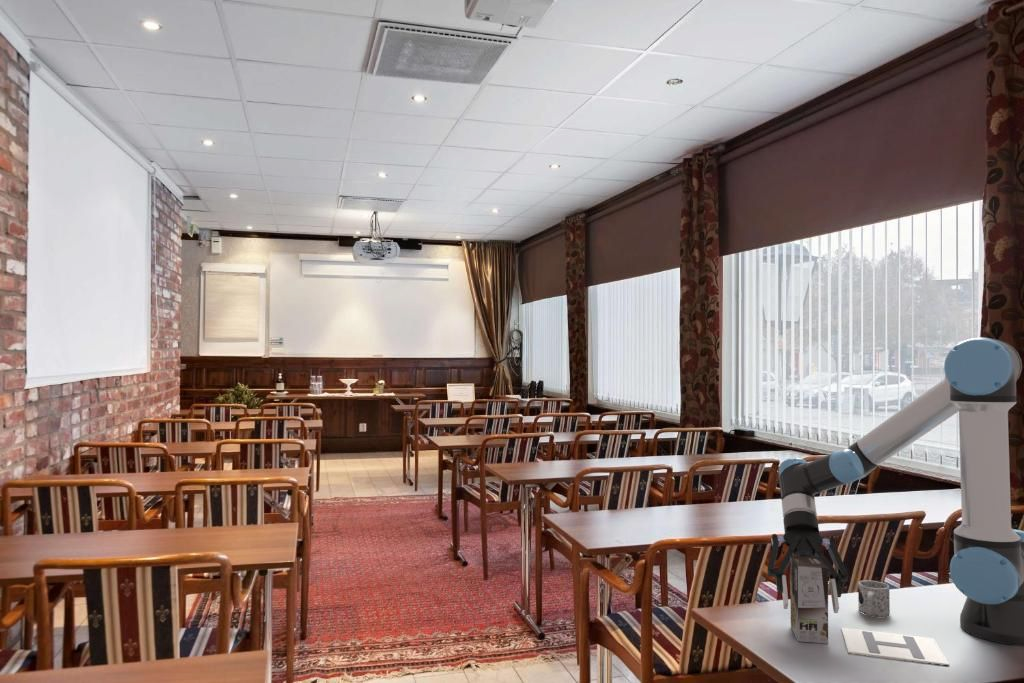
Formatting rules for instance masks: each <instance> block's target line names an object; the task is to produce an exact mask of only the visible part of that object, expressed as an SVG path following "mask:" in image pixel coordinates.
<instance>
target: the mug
mask: <svg viewBox="0 0 1024 683" xmlns="http://www.w3.org/2000/svg"><path fill="white" fill-rule="evenodd" d="M857 585H858V586H857V588H858V589H857V590H858V592H857V593H858V598H857V599H858V600H857V601H858V612H859V611H860V612H862V613H864V614H866V615H865V616H867V615H868V616H867V617H871V616H874V617H873V618H878V617H884V618H888V617H887V616H889V615H890V616H891V614H890V612H891V611H890V610H891V609H890V607H891V606H890V603H891V602H890V585H889V584H887V583H885V582H882V581H876V580H859V581H858V582H857ZM860 612H859V613H860ZM862 613H861V614H862ZM864 614H863V615H864ZM890 616H889V617H890Z"/></svg>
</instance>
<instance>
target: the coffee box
mask: <svg viewBox="0 0 1024 683" xmlns="http://www.w3.org/2000/svg"><path fill="white" fill-rule="evenodd" d="M789 581H790V583H789V587H790V588H789V589H790V590H789V591H790V592H789V594H790V597H789V599H790V602H789V603H790V628H791V630H792V632H793V634H794V636H795V638H796V640H797V641H798V642H803V643H804V642H805V643H815V644H824V643H828V644H829V577H828V567H827V566H826V565H825V563H824V562H823V561H822V560H821V559H820V558H819V557H813V556H812V555H811V556H807V555H794V556H790V564H789Z"/></svg>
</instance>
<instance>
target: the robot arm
mask: <svg viewBox="0 0 1024 683" xmlns="http://www.w3.org/2000/svg"><path fill="white" fill-rule="evenodd" d="M943 366H944V367H943V368H944V378H943V379H941V380H940V381H939V382H937V383H936V384H934V385H933V386H931V387H930V388H929V389H927V390H926V391H925V392H923V393H922V394H920V395H919V396H918V397H917V398H915V399H913V401H911V402H909V403H908V404H906V405H905V406H904V407H903V408H901V409H900V410H899V411H897V412H895V413H894V414H893V415H891V416H890V417H889V418H887V419H886V420H885V421H883V422H882V423H880V424H879V425H877V426H875V428H873V429H872V430H871V431H869V432H868V433H867V434H865V435H863V437H861V438H860V439H858V440H857V441H856V442H854V443H852V444H851V445H850V446H848V447H847V448H844V449H841V450H837V451H833V452H831V453H830V454H827V455H825V456H822V457H820V458H816V459H814V460H812V461H809V462H808V461H806V460H805V459H803V458H800V457H794V458H787V459H784V460H783V461H782V462H781V463H780V464H779V467H778V483H779V489H780V490H779V491H780V497H781V499H780V500H781V508H782V517H783V530H784V534H783V535H777V534H776V533H772V535H771V539H770V540H771V551H770V556H769V559H768V565H767V570H766V576H767V577H769V578H773V579H775V584H776V592H777V593H779V594H782V606H783V610H788V608H789V594H788V586H787V576H786V575H785V572H786V571H787V569H788V567H789V566H790V556H812V557H819V558H820V559H821V560H822V561H823V562H824V563H825V565H826V566H827V567H828V579H830V582H829V588H830V596H831V603H832V604H831V605H832V609H833V610H832V611H833V614H838V613H839V609H840V603H839V598H841V597H842V594H843V590H842V583H844V584H845V583H847V582H848V580H849V572H848V571H847V567H846V566H845V563H844V561H843V560H842V557H841V555H840V553H839V551H838V548H837V546H836V544H837V543H836V541H837V540H836V538H835V537H830V538H824V537H822V536H821V534H820V527H819V523H818V522H819V520H818V514H817V508H816V507H817V506H816V499H815V495H817V494H821V493H823V492H826V491H829V490H832V489H835V488H838V487H841V486H844V485H849V484H851V483H854V482H855V481H858V480H862V479H864V478H865V477H868V476H869V475H870V473H871V472H872V471H874V470H875V469H877V468H878V467H879V466H881V465H883V464H884V463H885V462H886V461H889V460H890V459H891V458H893V457H894V456H895V455H896V454H899V453H900V452H901V451H903V450H904V449H905V448H907V447H908V446H911V444H913V443H914V442H916V441H917V440H919V439H920V438H922V437H923V436H924V435H926V434H928V433H929V432H930V431H932V430H933V429H935V428H937V427H938V426H939V425H941V424H943V423H944V422H945V421H946V420H948V419H949V418H951V417H952V416H955V415H956V414H957V413H958V421H959V422H958V425H959V426H958V427H959V428H958V429H959V430H958V433H959V434H958V435H959V461H960V462H959V466H960V467H959V468H960V471H959V472H960V499H961V500H960V501H961V503H960V504H961V523H960V525H958V526H957V527H956V528H954V530H953V552H954V554H953V556H952V558H951V560H950V563H949V574H950V577H951V581H952V582H953V584H954V586H955V587H956V589H958V590H959V591H960V592H961V593H962V594H963V595H964V596H965V597H966V598H965V602H964V604H963V607H962V609H961V612H960V613H959V614H960V615H959V627H960V628H961V629H962V630H963V631H965V632H967V633H968V634H970V635H973V636H974V637H977V638H980V639H984V640H988V641H991V642H996V643H999V644H1006V645H1014V646H1024V530H1020V529H1014V528H1012V512H1011V511H1012V510H1011V509H1012V508H1011V507H1012V506H1011V479H1010V474H1011V473H1010V450H1009V449H1010V446H1009V445H1010V444H1009V443H1010V442H1009V439H1010V438H1009V411H1010V409H1012V408H1013V407H1014V406H1015V405H1016V404H1017V381H1018V379H1020V376H1021V373H1022V368H1023V363H1022V358H1021V357H1020V354H1019V352H1018V351H1017V350H1016V349H1015V348H1014V347H1013V346H1012V345H1011V344H1010V343H1008V342H1005V341H1003V340H1001V339H996V338H989V337H981V336H979V337H972V338H968V339H967V338H966V339H965V340H963V341H960V342H959V343H957V344H956V345H954V346H953V347H952V348H951V349H950V350H949V352H948V353H947V355H946V357H945V359H944V365H943ZM782 543H784V544H785V545H786V546H787V547H788V550H787V551H786V553H785V555H784V556H783V558H782V560H781V562H780V563H779V566H778V568H777V569H775V565H776V560H777V557H778V551H779V547H781V546H782ZM821 546H824V547H825V549H826V550H828V553H829V555H830V558H831V561H832V562H833V565H834V566H833V565H832V563H831V562H830V561H829V560H828V558H827V556H825V554H824V553H823V551H822V549H821Z"/></svg>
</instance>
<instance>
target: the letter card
mask: <svg viewBox="0 0 1024 683" xmlns="http://www.w3.org/2000/svg"><path fill="white" fill-rule="evenodd" d="M841 629H842V630H841ZM840 630H841V632H843V633H842V636H844V637H843V639H845V640H844V644H845V647H846V646H847V647H846V650H847V653H854V654H853V655H856V654H860V655H859V656H864V655H866V656H865V657H872V658H880V659H888V660H896V661H897V660H898V661H904V660H906V661H905V662H912V661H914V663H920V662H923V663H922V664H928V663H931V664H930V665H935V664H940V665H939V666H943V665H949V666H950V663H949V662H948V660H947V658H946V657H945V655H944V653H943V652H942V650H941V649H940V647H939V645H938V644H937V642H936V641H935V640H936V639H935V638H933V637H926V636H917V635H916V636H915V635H909V634H908V635H907V634H901V633H890V632H882V631H873V630H864V629H856V628H846V627H841V628H840Z"/></svg>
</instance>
